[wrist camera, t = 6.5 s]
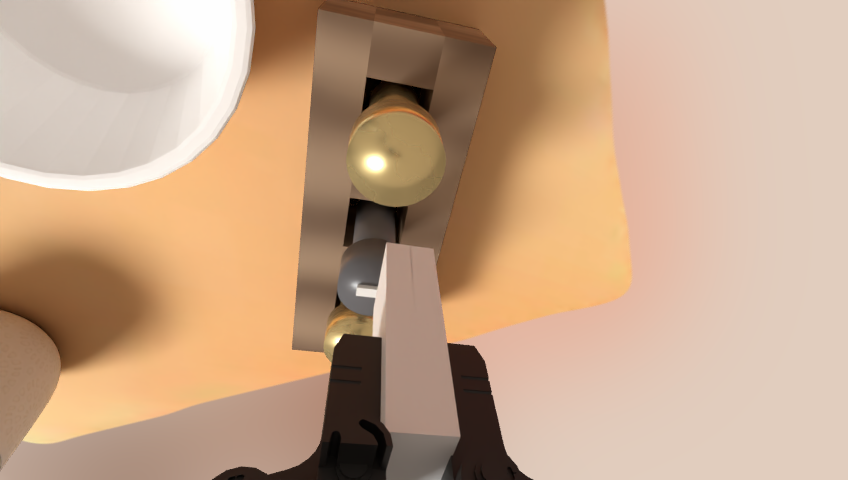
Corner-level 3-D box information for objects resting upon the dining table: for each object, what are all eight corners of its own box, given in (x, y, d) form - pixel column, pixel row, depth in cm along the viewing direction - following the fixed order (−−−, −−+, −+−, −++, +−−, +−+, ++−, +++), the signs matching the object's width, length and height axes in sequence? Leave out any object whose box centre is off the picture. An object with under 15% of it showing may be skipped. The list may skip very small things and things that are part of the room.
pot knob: (352, 181, 33) (340, 260, 25) (407, 189, 34) (413, 270, 26) (345, 227, 35) (333, 315, 27) (397, 235, 36) (400, 322, 28)
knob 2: (362, 58, 28) (352, 105, 21) (437, 74, 29) (456, 124, 21) (352, 132, 31) (341, 199, 23) (422, 144, 32) (433, 213, 24)
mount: (329, -4, 30) (318, 9, 25) (478, 29, 31) (496, 47, 26) (302, 301, 43) (292, 349, 38) (407, 313, 45) (410, 360, 40)
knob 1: (338, 243, 39) (326, 320, 32) (394, 251, 40) (395, 327, 32) (333, 286, 42) (320, 367, 34) (385, 293, 43) (384, 373, 35)
